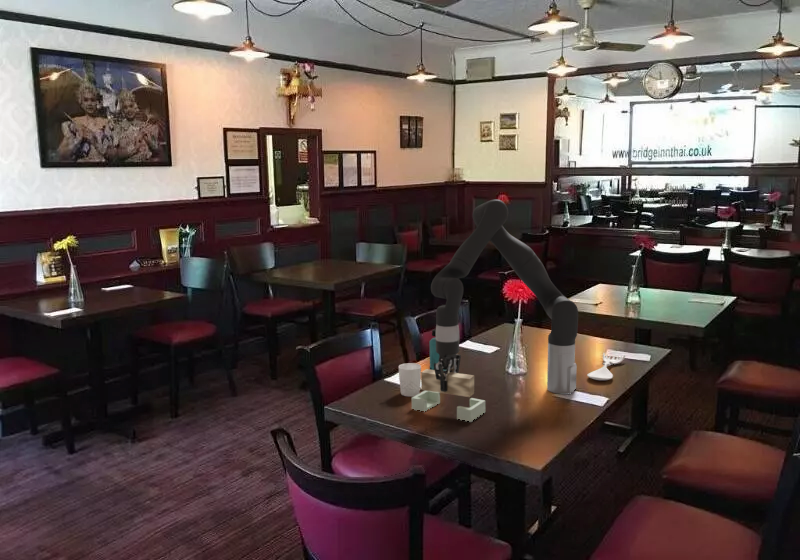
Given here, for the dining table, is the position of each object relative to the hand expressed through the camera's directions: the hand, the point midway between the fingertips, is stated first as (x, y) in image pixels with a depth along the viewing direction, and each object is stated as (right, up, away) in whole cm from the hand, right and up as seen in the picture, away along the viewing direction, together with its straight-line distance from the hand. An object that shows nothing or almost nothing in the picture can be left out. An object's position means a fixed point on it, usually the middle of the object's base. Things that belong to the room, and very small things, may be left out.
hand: (447, 388), depth 216 cm
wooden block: (0, -1, 0) cm, 1 cm away
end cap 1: (-7, -7, +6) cm, 11 cm away
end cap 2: (+7, -8, -4) cm, 11 cm away
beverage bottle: (-1, -3, +31) cm, 31 cm away
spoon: (+64, 0, +39) cm, 75 cm away
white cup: (-12, -5, +19) cm, 23 cm away
